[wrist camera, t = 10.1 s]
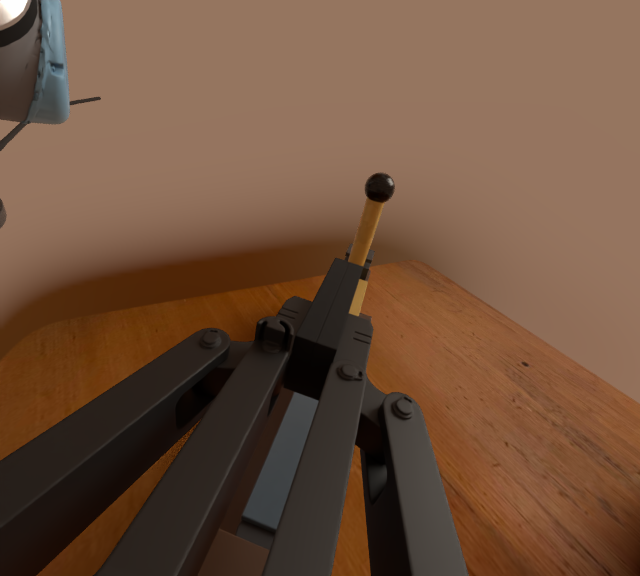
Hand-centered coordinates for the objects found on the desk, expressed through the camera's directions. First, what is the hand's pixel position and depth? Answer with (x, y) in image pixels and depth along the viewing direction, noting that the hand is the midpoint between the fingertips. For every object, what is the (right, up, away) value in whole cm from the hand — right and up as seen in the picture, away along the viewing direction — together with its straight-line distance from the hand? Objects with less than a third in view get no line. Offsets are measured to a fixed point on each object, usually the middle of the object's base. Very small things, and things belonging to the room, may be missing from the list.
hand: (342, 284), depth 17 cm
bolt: (+2, +1, +14) cm, 14 cm away
